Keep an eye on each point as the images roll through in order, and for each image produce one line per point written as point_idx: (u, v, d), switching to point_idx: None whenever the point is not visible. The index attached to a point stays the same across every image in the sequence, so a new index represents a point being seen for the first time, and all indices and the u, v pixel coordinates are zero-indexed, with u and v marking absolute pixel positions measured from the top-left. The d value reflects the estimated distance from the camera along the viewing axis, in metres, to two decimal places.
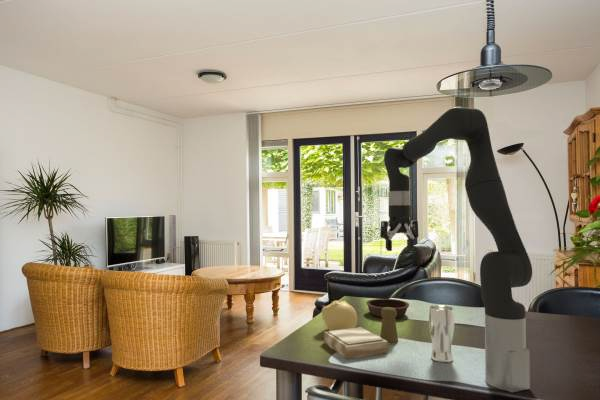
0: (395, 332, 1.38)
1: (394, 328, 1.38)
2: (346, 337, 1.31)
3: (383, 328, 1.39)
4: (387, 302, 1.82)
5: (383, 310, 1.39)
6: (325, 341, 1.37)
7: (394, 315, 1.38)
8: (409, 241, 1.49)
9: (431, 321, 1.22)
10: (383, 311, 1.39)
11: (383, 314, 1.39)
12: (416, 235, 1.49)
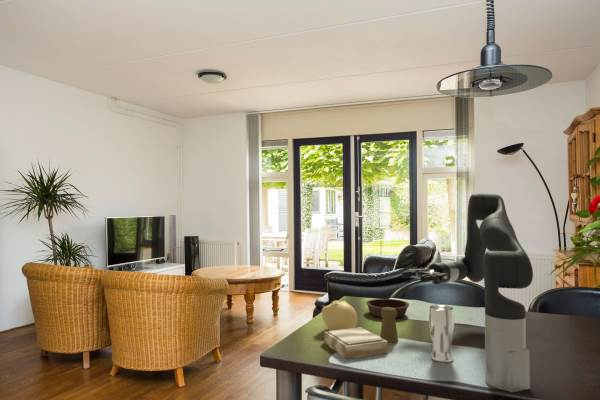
0: (395, 332, 1.38)
1: (394, 328, 1.38)
2: (346, 337, 1.31)
3: (383, 328, 1.39)
4: (387, 302, 1.82)
5: (383, 310, 1.39)
6: (325, 341, 1.37)
7: (394, 315, 1.38)
8: None
9: (431, 321, 1.22)
10: (383, 311, 1.39)
11: (383, 314, 1.39)
12: (436, 274, 1.44)
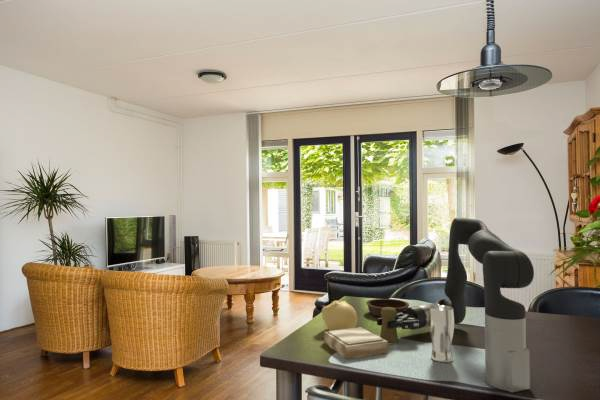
0: (395, 332, 1.38)
1: (394, 328, 1.38)
2: (346, 337, 1.31)
3: (383, 328, 1.39)
4: (387, 302, 1.82)
5: (383, 310, 1.39)
6: (325, 341, 1.37)
7: (394, 315, 1.38)
8: None
9: (431, 321, 1.22)
10: (383, 311, 1.39)
11: (383, 314, 1.39)
12: (403, 321, 1.38)
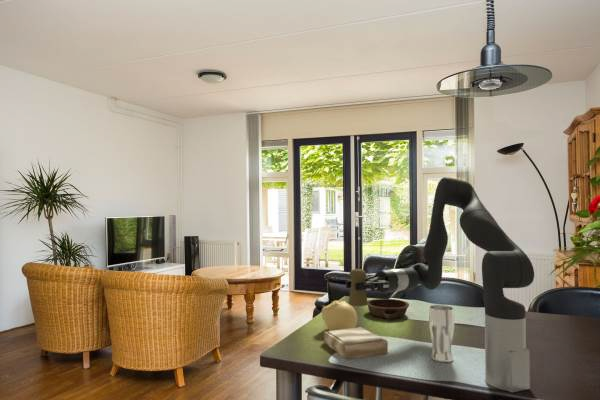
0: (364, 294, 1.33)
1: (363, 290, 1.32)
2: (346, 337, 1.31)
3: (352, 290, 1.33)
4: (387, 302, 1.82)
5: (352, 271, 1.33)
6: (325, 341, 1.37)
7: (363, 276, 1.32)
8: None
9: (431, 321, 1.22)
10: (351, 272, 1.33)
11: (352, 275, 1.33)
12: None
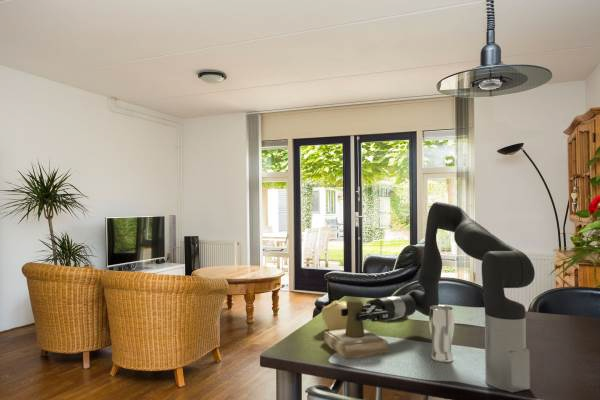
0: (361, 326, 1.32)
1: (360, 321, 1.31)
2: (346, 337, 1.31)
3: (348, 321, 1.32)
4: None
5: (348, 303, 1.32)
6: (325, 341, 1.37)
7: (360, 308, 1.31)
8: None
9: (431, 321, 1.22)
10: (348, 304, 1.32)
11: (348, 307, 1.32)
12: (372, 313, 1.30)
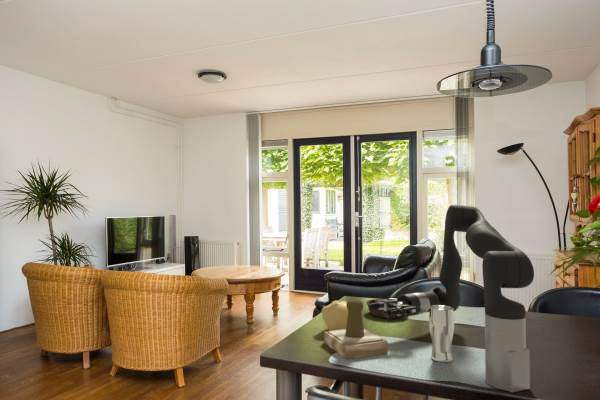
0: (361, 326, 1.32)
1: (360, 321, 1.31)
2: (346, 337, 1.31)
3: (348, 321, 1.32)
4: None
5: (348, 303, 1.32)
6: (325, 341, 1.37)
7: (360, 308, 1.31)
8: None
9: (431, 321, 1.22)
10: (348, 304, 1.32)
11: (348, 307, 1.32)
12: None
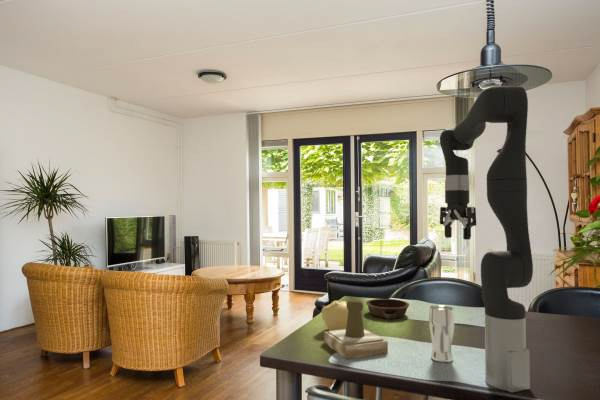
0: (361, 326, 1.32)
1: (360, 321, 1.31)
2: (346, 337, 1.31)
3: (348, 321, 1.32)
4: (387, 302, 1.82)
5: (348, 303, 1.32)
6: (325, 341, 1.37)
7: (360, 308, 1.31)
8: None
9: (431, 321, 1.22)
10: (348, 304, 1.32)
11: (348, 307, 1.32)
12: (468, 223, 1.33)
